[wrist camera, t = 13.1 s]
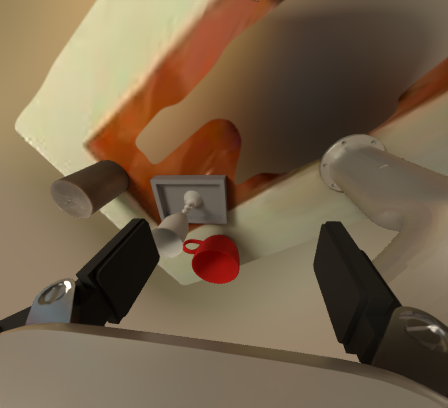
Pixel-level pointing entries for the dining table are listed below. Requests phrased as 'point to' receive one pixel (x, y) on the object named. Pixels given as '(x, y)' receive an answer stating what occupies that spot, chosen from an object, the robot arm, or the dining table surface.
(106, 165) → the pillar candle
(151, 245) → the robot arm
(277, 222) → the dining table surface
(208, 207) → the tray
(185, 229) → the chalice
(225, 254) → the ceramic cup
